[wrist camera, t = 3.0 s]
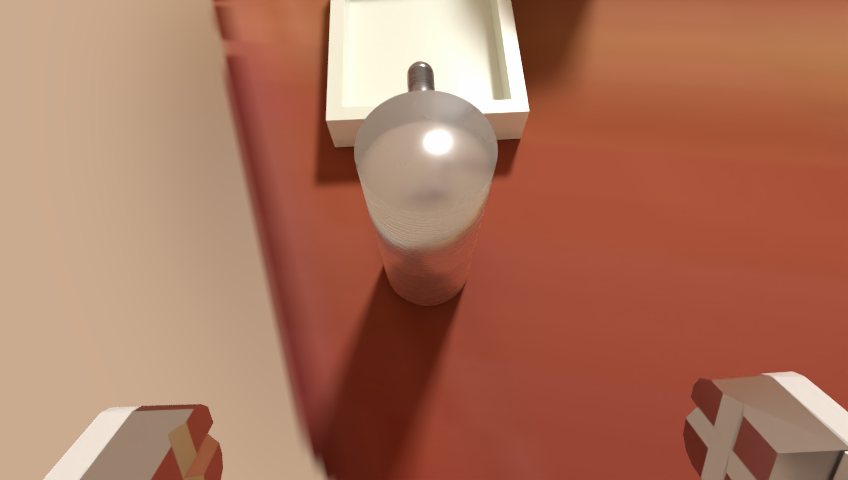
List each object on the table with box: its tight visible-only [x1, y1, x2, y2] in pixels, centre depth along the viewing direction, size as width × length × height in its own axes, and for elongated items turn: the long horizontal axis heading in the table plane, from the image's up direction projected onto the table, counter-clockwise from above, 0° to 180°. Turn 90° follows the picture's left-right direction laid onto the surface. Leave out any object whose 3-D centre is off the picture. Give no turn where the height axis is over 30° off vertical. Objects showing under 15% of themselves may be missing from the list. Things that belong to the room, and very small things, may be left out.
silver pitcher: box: [354, 61, 498, 306], centre depth 23 cm, size 5×8×13 cm, turn 3°
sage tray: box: [326, 0, 529, 147], centre depth 34 cm, size 13×16×3 cm
